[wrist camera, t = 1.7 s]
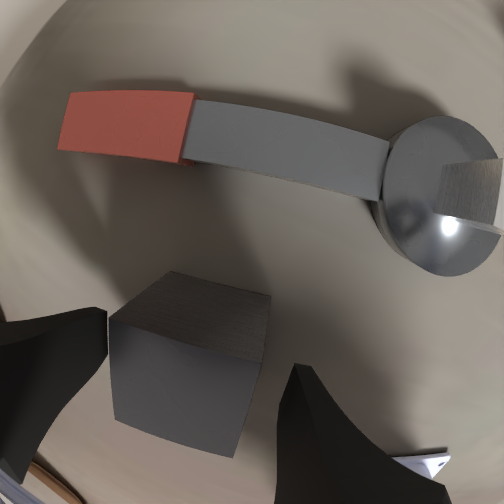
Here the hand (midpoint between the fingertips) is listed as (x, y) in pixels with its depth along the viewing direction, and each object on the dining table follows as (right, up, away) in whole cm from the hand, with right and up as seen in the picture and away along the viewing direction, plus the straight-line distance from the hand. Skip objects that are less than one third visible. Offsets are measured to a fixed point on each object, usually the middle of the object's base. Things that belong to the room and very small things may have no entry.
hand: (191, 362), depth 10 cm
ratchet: (+4, +8, +1) cm, 9 cm away
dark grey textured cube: (0, 0, +3) cm, 3 cm away
